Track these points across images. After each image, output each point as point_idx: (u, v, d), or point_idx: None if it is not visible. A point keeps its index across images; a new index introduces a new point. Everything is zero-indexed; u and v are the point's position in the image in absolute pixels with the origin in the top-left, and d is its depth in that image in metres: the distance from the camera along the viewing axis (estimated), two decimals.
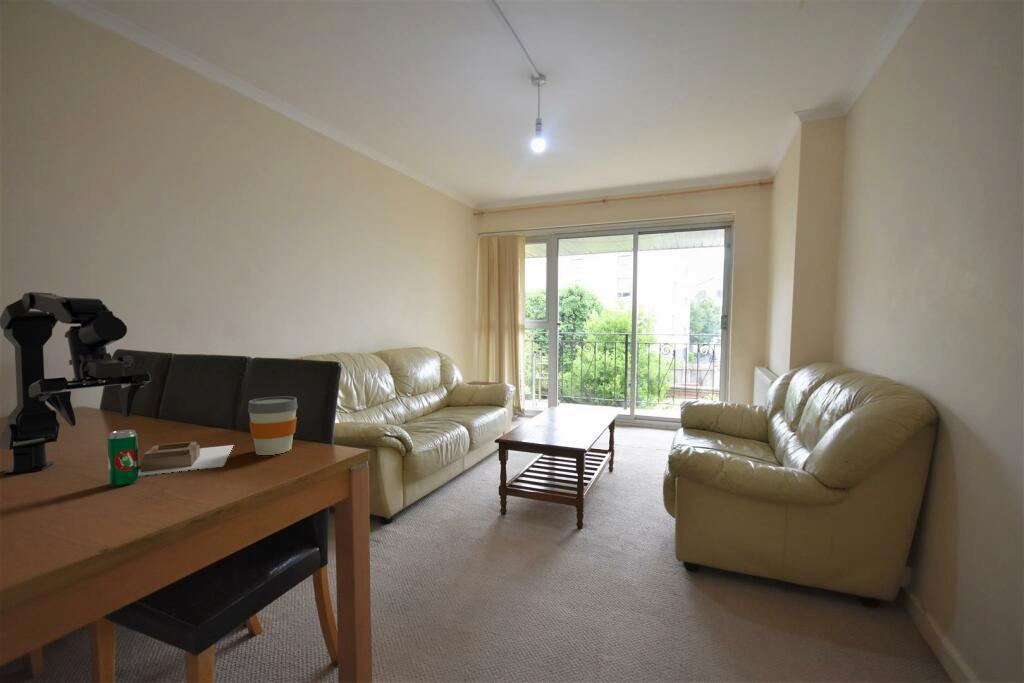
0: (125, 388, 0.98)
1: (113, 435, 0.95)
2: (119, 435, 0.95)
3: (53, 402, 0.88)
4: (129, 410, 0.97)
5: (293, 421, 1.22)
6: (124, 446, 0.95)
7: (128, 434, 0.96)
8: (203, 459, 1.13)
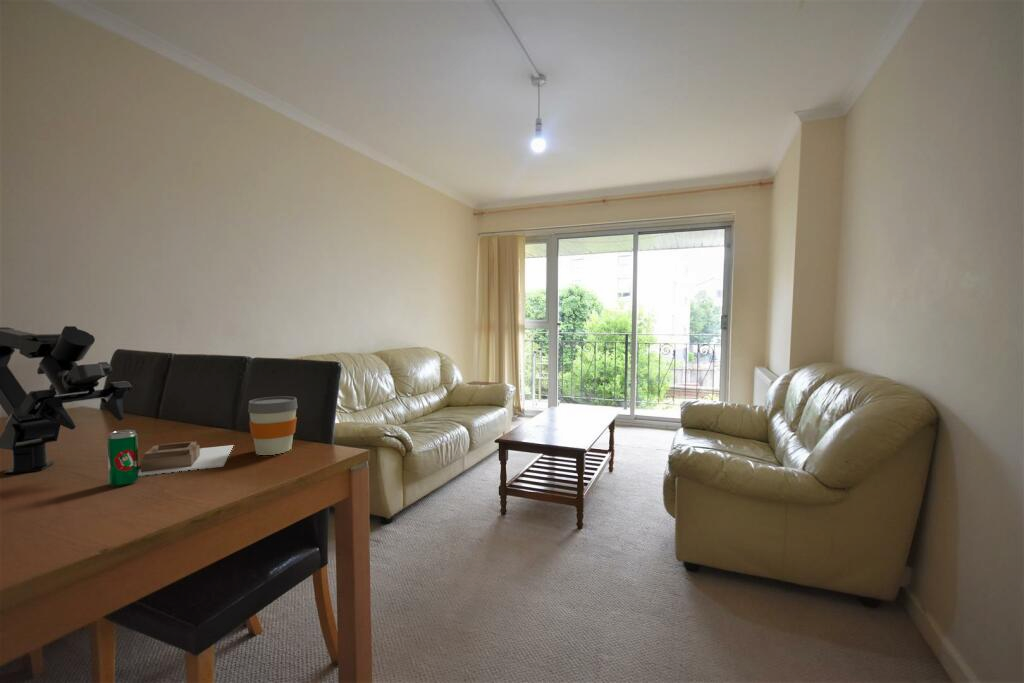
0: (110, 398, 1.05)
1: (113, 435, 0.95)
2: (119, 435, 0.95)
3: (47, 415, 0.94)
4: (121, 413, 1.04)
5: (293, 421, 1.22)
6: (124, 446, 0.95)
7: (128, 434, 0.96)
8: (203, 459, 1.13)
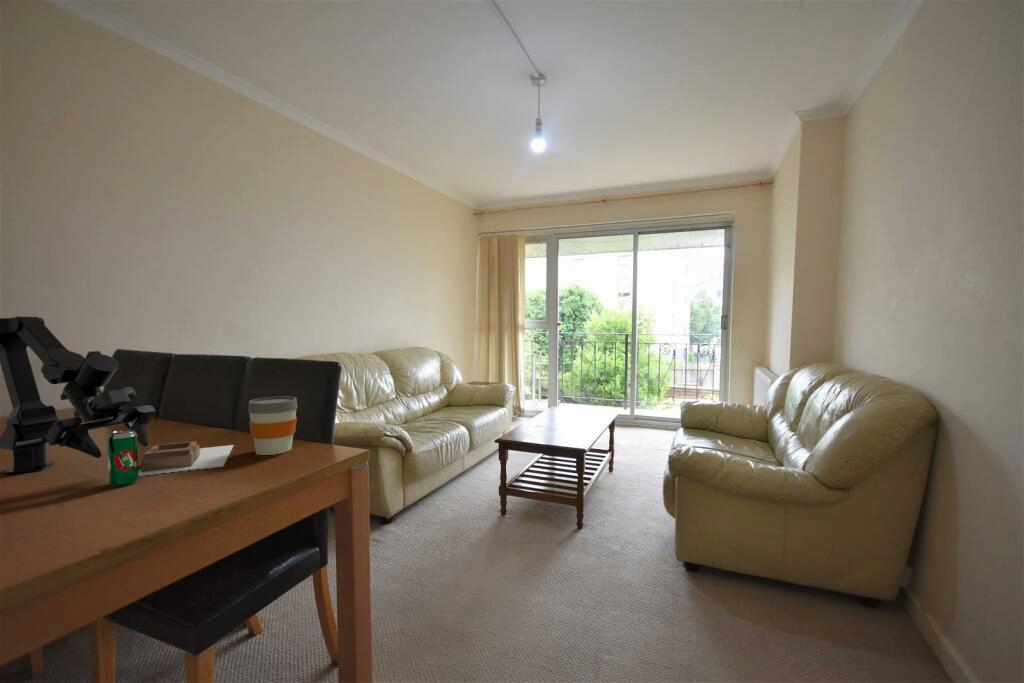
0: (134, 423, 1.03)
1: (113, 435, 0.95)
2: (119, 435, 0.95)
3: (73, 444, 0.92)
4: (146, 438, 1.02)
5: (293, 421, 1.22)
6: (124, 446, 0.95)
7: (128, 434, 0.96)
8: (203, 459, 1.13)
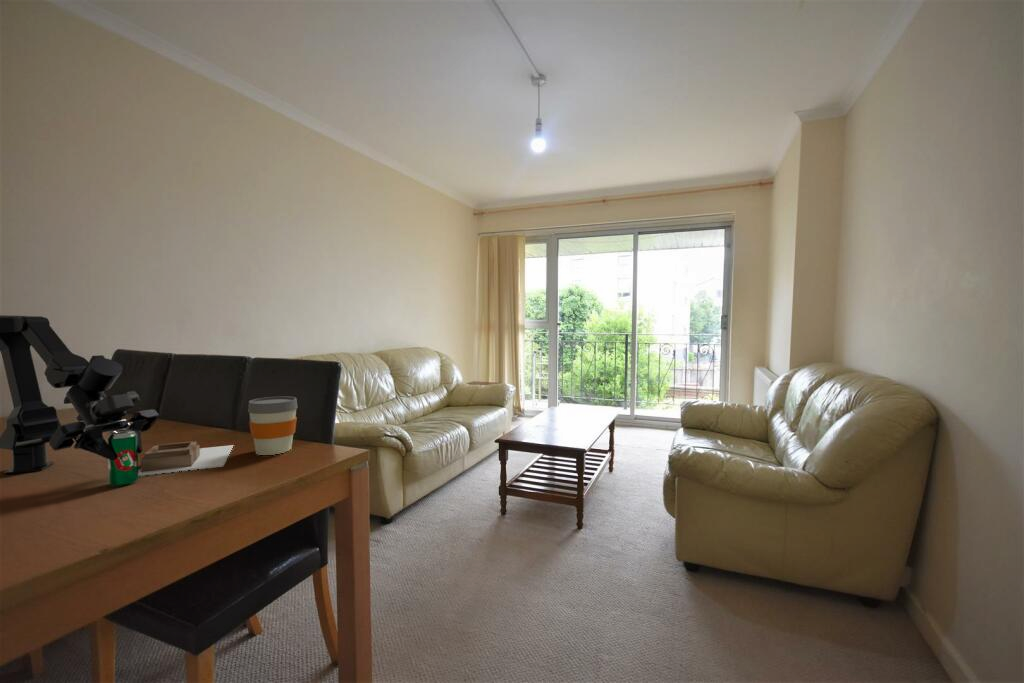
0: (129, 429, 1.01)
1: (113, 435, 0.95)
2: (119, 435, 0.95)
3: (87, 446, 0.94)
4: (140, 445, 1.00)
5: (293, 421, 1.22)
6: (124, 446, 0.95)
7: (128, 434, 0.96)
8: (203, 459, 1.13)
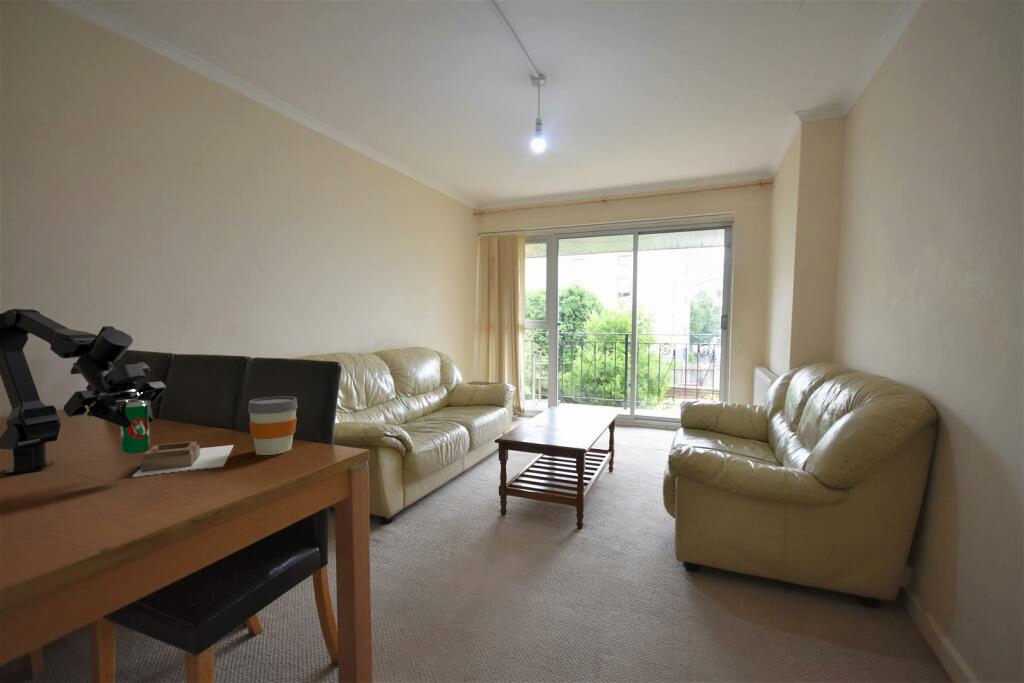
0: (138, 399, 1.03)
1: (126, 404, 0.97)
2: (132, 404, 0.98)
3: (100, 414, 0.96)
4: (151, 414, 1.02)
5: (293, 421, 1.22)
6: (137, 414, 0.98)
7: (141, 403, 0.99)
8: (203, 459, 1.13)
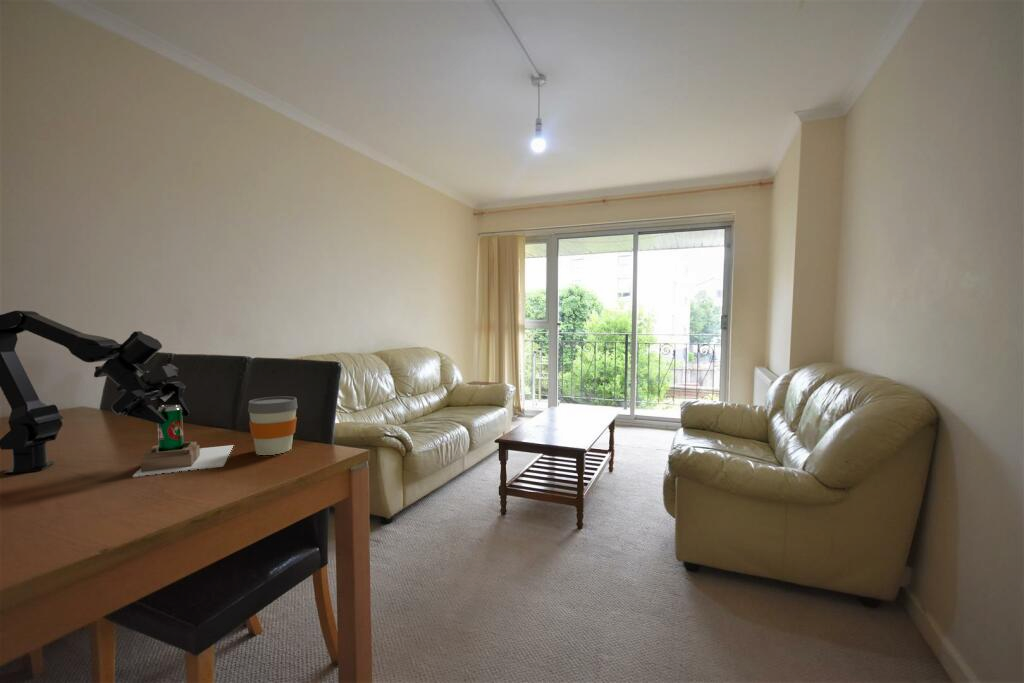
0: (171, 397, 1.14)
1: (165, 408, 1.08)
2: (171, 408, 1.08)
3: (136, 413, 1.03)
4: (187, 409, 1.15)
5: (293, 421, 1.22)
6: (176, 417, 1.09)
7: (177, 407, 1.10)
8: (203, 459, 1.13)
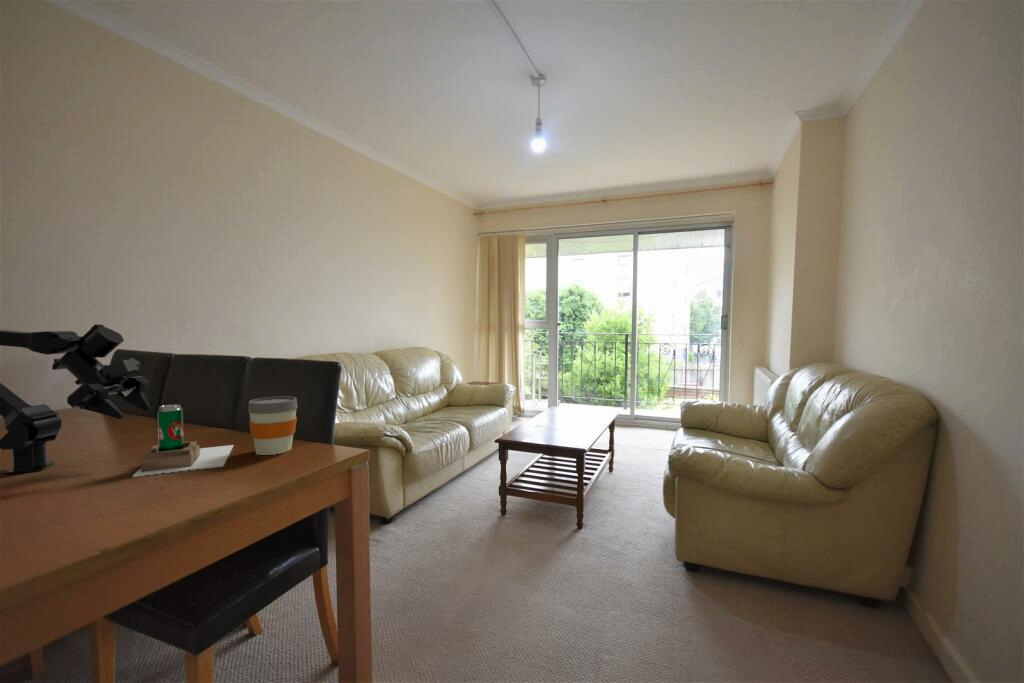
0: (132, 391, 1.13)
1: (165, 408, 1.08)
2: (171, 408, 1.08)
3: (92, 407, 1.02)
4: (148, 404, 1.14)
5: (293, 421, 1.22)
6: (176, 417, 1.09)
7: (178, 407, 1.10)
8: (203, 459, 1.13)
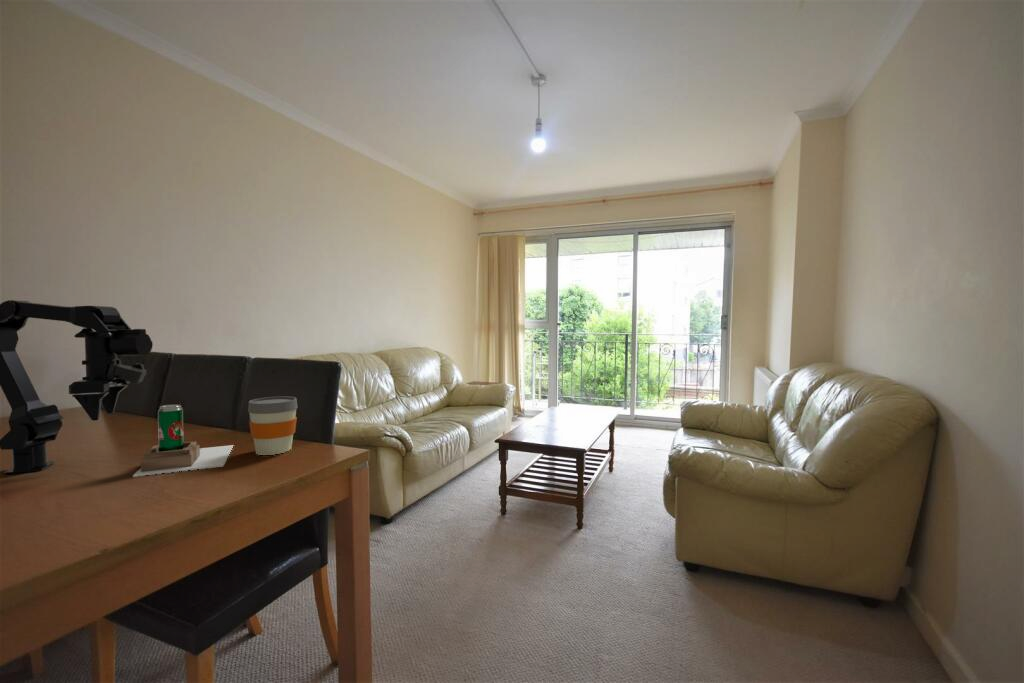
0: (112, 388, 1.12)
1: (166, 408, 1.08)
2: (172, 408, 1.08)
3: (82, 399, 1.01)
4: (114, 407, 1.13)
5: (293, 421, 1.22)
6: (176, 417, 1.09)
7: (178, 407, 1.10)
8: (203, 459, 1.13)
